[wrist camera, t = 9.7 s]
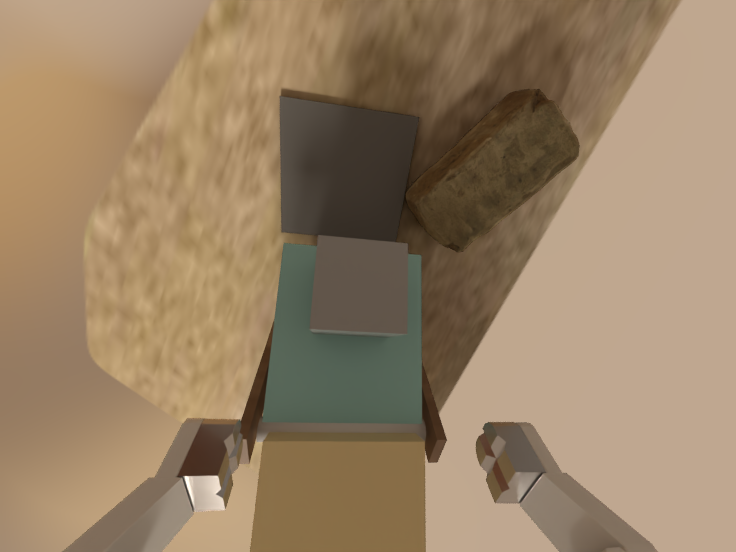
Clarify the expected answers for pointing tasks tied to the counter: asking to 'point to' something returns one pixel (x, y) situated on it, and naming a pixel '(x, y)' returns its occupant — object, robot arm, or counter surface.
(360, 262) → the stone cube
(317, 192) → the rubber mat
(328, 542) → the trapdoor
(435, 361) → the counter surface
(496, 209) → the stone block
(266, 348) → the trapdoor frame
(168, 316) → the counter surface
